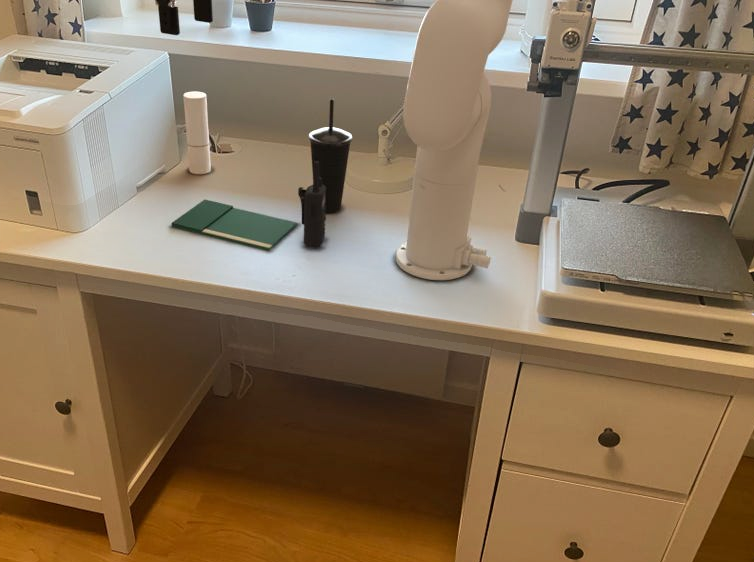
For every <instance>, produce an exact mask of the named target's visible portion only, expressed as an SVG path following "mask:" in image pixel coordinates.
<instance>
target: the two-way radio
mask: <svg viewBox="0 0 754 562" xmlns="http://www.w3.org/2000/svg"><path fill="white" fill-rule="evenodd" d="M297 191H298V192H297V193H298V194H297V195H298V197H299V199H300V204H301V225H303V245H305V247H307V248H311V249H319V248H322V245H323V243H324V241H325V236H326V220H327V217H326V213H325V212H326V187H325V186H324V185H322V178H321V177H319V162H318V161H315V162H314V174H313V173H312V184H310V185H309V186H307V188H306V189H304V187H302V186H299V187H298V190H297Z"/></svg>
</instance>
